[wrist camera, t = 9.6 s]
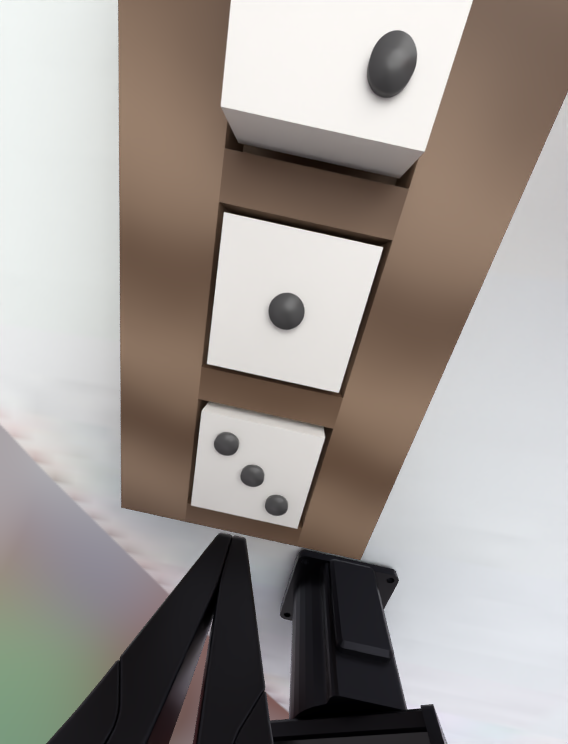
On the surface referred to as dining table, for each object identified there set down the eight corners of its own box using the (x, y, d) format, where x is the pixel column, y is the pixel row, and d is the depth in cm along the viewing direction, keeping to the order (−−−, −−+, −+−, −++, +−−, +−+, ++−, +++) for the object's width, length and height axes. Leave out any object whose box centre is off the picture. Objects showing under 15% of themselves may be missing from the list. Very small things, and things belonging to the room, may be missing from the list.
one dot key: (333, 376, 11) (339, 395, 10) (221, 351, 11) (204, 365, 10) (369, 252, 10) (385, 246, 8) (237, 223, 10) (221, 210, 8)
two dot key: (399, 178, 8) (428, 147, 6) (238, 143, 8) (218, 100, 6) (472, -65, 6) (543, -211, 4) (268, -110, 6) (253, -276, 4)
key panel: (350, 509, 16) (360, 560, 13) (154, 466, 16) (121, 507, 13) (549, -7, 8) (675, -152, 6) (179, -89, 8) (116, -277, 6)
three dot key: (298, 498, 14) (297, 532, 12) (204, 477, 14) (189, 509, 12) (322, 415, 12) (325, 440, 10) (216, 392, 12) (199, 413, 10)
